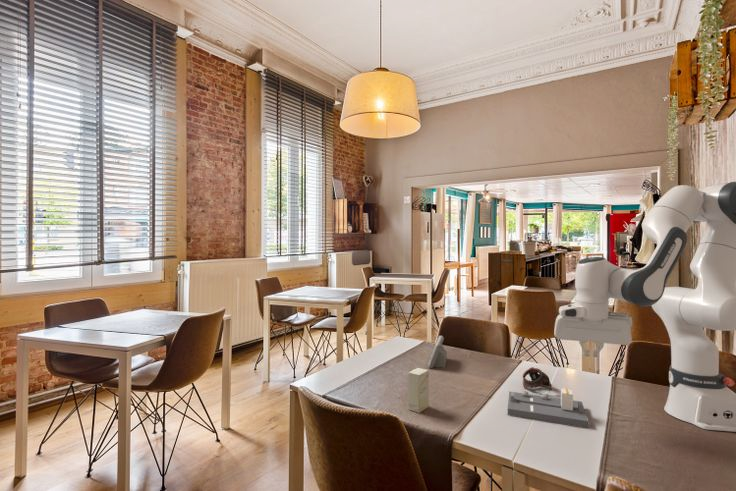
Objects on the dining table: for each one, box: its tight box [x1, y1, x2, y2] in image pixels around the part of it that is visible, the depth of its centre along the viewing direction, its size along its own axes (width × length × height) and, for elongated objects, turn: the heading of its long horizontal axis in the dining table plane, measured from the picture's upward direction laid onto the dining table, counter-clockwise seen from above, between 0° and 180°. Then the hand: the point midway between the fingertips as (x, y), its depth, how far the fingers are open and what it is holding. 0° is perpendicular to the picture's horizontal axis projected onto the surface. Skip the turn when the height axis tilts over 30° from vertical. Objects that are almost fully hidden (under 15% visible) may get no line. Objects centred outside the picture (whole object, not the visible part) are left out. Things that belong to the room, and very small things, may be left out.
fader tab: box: [560, 387, 574, 411], centre depth 119 cm, size 3×4×5 cm
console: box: [507, 390, 589, 429], centre depth 121 cm, size 22×14×4 cm, turn 67°
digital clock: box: [427, 335, 447, 369], centre depth 167 cm, size 16×9×11 cm, turn 152°
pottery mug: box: [522, 366, 553, 391], centre depth 140 cm, size 12×10×8 cm
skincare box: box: [407, 367, 430, 414], centre depth 124 cm, size 6×4×12 cm
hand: (591, 356), depth 116 cm, fingers closed
